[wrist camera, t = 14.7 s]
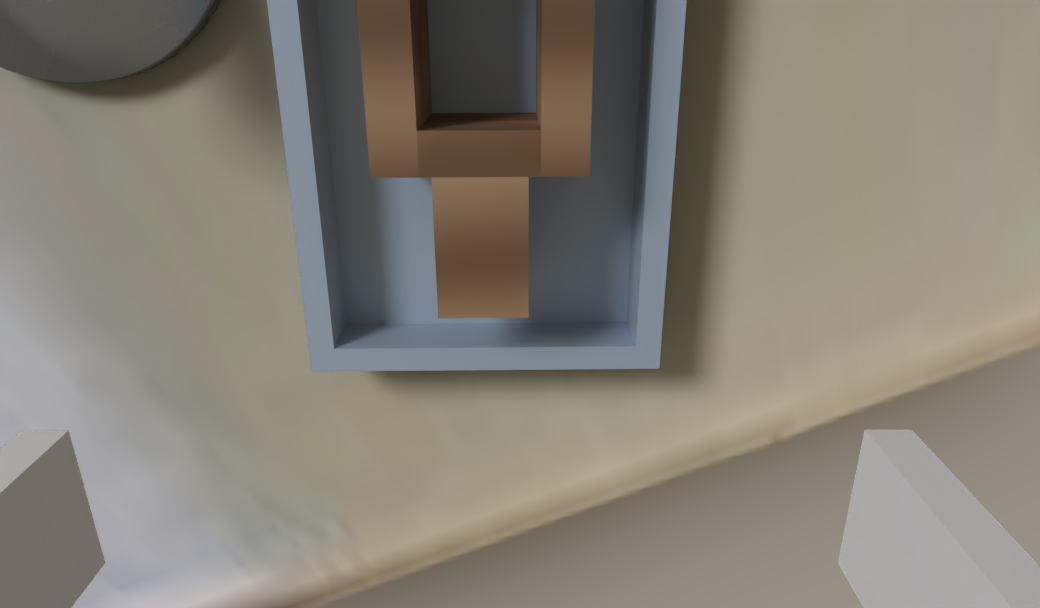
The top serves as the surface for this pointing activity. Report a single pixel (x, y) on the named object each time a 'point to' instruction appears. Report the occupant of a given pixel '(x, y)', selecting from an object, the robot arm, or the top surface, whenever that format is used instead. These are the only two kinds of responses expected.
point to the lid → (96, 36)
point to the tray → (552, 200)
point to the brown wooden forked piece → (477, 146)
